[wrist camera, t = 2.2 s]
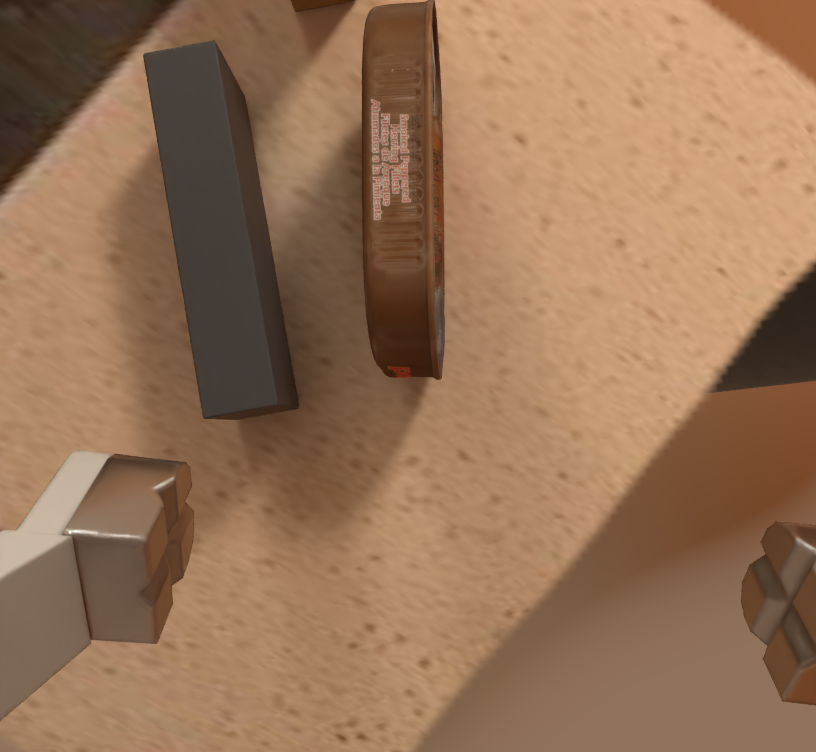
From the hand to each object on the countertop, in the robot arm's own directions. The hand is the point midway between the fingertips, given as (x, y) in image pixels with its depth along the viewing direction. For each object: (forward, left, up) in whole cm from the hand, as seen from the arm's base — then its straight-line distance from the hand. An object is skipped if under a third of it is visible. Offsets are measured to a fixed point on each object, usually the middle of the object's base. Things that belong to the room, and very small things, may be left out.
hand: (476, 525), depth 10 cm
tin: (-1, -11, -23) cm, 26 cm away
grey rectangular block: (+7, -11, -23) cm, 26 cm away
